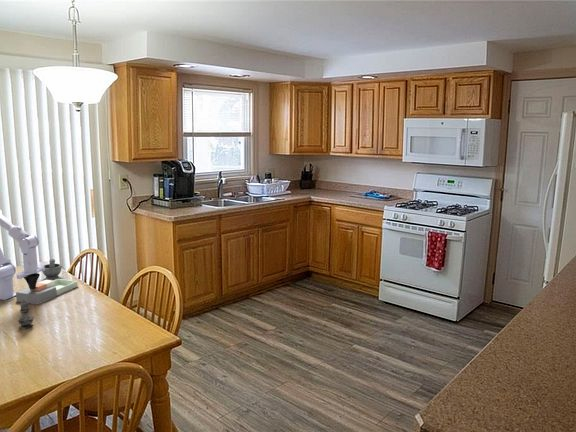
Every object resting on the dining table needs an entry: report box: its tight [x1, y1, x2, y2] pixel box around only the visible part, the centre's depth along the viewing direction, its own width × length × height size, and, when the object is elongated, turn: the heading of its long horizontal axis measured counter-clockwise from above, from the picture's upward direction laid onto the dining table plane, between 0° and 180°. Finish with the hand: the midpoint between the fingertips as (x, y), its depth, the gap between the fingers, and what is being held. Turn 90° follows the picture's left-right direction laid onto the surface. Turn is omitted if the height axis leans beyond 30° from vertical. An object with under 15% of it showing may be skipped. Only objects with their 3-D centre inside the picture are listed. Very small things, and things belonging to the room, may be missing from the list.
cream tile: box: [38, 279, 54, 287], centre depth 232 cm, size 5×5×2 cm
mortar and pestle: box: [41, 258, 62, 281], centre depth 256 cm, size 11×9×12 cm
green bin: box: [51, 278, 79, 297], centre depth 240 cm, size 12×14×3 cm
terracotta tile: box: [30, 282, 47, 291], centre depth 227 cm, size 5×5×2 cm
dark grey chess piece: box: [17, 300, 34, 330], centre depth 195 cm, size 6×6×12 cm
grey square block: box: [15, 286, 57, 305], centre depth 227 cm, size 12×12×4 cm
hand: (32, 289), depth 224 cm, fingers closed
